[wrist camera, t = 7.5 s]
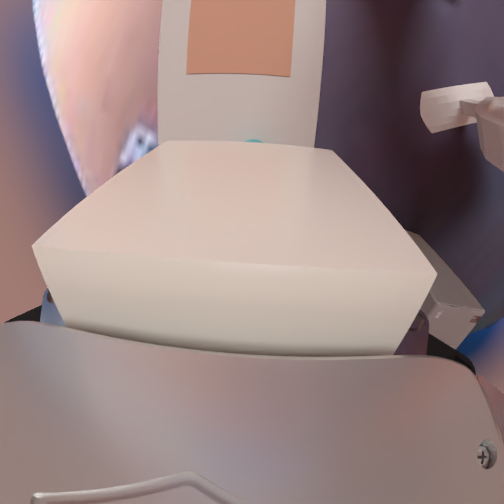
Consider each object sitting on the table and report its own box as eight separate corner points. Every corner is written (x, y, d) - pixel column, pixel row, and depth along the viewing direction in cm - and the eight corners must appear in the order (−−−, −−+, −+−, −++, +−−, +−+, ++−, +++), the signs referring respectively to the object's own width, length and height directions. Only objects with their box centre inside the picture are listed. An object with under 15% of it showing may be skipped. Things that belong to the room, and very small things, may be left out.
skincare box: (351, 260, 34) (389, 361, 21) (374, 211, 31) (437, 303, 17) (400, 273, 35) (446, 363, 22) (425, 230, 32) (489, 314, 18)
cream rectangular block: (331, 150, 12) (437, 274, 4) (307, 281, 16) (330, 436, 8) (167, 140, 12) (31, 245, 4) (177, 272, 16) (126, 418, 8)
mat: (325, -11, 17) (326, -13, 17) (303, 214, 31) (304, 217, 31) (166, -13, 17) (164, -15, 17) (164, 206, 31) (162, 209, 31)
